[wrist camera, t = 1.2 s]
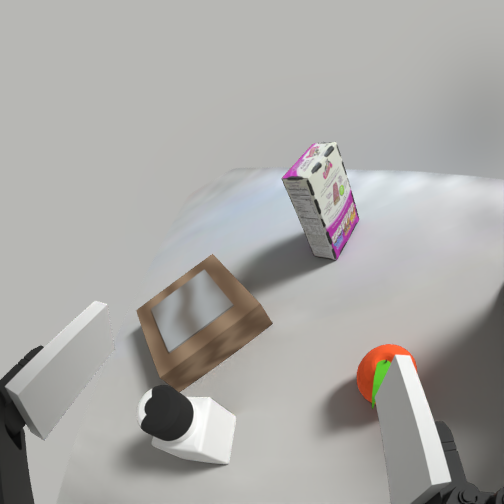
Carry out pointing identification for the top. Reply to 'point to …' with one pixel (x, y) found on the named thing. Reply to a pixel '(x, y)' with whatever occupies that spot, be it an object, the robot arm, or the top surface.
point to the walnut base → (199, 322)
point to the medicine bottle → (187, 425)
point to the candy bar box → (322, 199)
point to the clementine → (377, 369)
